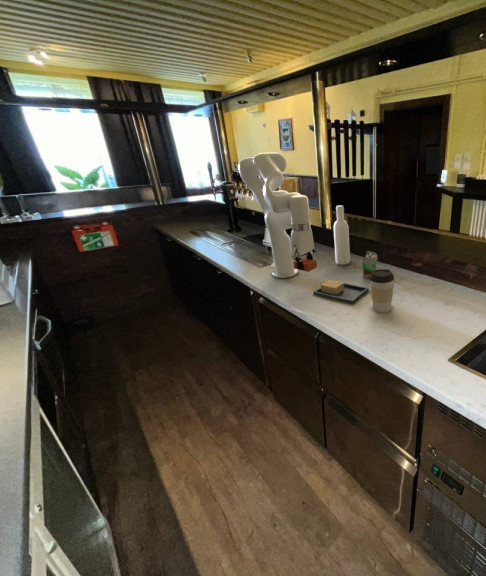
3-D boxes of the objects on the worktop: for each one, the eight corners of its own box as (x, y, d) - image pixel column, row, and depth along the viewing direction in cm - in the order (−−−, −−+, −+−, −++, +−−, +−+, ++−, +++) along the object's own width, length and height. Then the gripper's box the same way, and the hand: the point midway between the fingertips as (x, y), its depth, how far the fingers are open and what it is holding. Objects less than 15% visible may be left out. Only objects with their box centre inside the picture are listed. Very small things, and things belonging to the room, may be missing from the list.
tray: (313, 295, 128) (313, 291, 127) (331, 283, 138) (331, 280, 137) (352, 304, 118) (352, 301, 118) (368, 291, 129) (368, 287, 128)
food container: (376, 279, 140) (375, 259, 136) (363, 279, 141) (362, 259, 137) (379, 270, 151) (379, 251, 146) (367, 269, 152) (366, 250, 148)
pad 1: (294, 268, 132) (293, 261, 131) (302, 264, 137) (302, 257, 135) (308, 271, 128) (307, 264, 127) (316, 267, 133) (316, 260, 131)
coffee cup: (378, 316, 110) (377, 278, 103) (365, 306, 117) (364, 270, 111) (398, 309, 113) (399, 272, 107) (385, 300, 121) (385, 265, 114)
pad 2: (321, 291, 130) (320, 284, 129) (328, 286, 134) (328, 279, 133) (336, 295, 126) (335, 288, 125) (344, 289, 131) (343, 282, 129)
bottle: (333, 264, 161) (329, 207, 149) (339, 259, 168) (335, 204, 155) (347, 265, 159) (344, 207, 146) (352, 260, 165) (350, 204, 152)
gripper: (307, 221, 133) (310, 259, 141) (280, 230, 119) (285, 272, 127) (321, 222, 129) (323, 262, 137) (294, 232, 116) (299, 275, 124)
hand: (305, 266), depth 132 cm, fingers closed on pad 1, 6 cm apart
